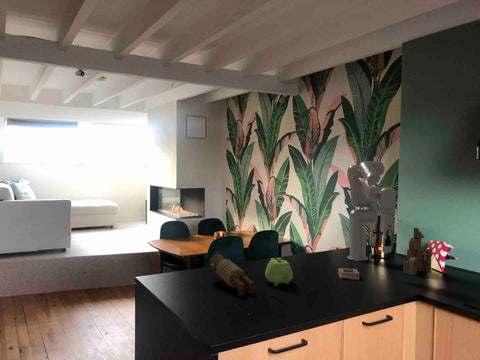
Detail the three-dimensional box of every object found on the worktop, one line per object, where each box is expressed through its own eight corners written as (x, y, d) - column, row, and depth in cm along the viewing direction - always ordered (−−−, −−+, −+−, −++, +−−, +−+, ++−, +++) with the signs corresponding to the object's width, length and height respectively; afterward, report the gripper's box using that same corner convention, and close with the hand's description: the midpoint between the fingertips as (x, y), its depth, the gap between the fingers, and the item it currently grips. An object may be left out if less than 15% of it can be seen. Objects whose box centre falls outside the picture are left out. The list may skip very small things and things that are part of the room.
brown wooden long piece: (254, 300, 185) (223, 273, 210) (257, 276, 183) (225, 251, 208) (236, 304, 180) (206, 275, 205) (239, 279, 178) (208, 253, 202)
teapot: (300, 287, 194) (300, 261, 193) (275, 290, 189) (275, 264, 189) (282, 276, 213) (282, 253, 212) (259, 278, 208) (259, 254, 208)
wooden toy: (413, 275, 216) (414, 230, 215) (403, 272, 222) (404, 228, 221) (432, 272, 223) (433, 228, 222) (422, 269, 229) (423, 226, 228)
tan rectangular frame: (338, 273, 219) (338, 268, 219) (356, 274, 218) (356, 268, 218) (340, 278, 209) (340, 272, 209) (359, 279, 208) (359, 273, 208)
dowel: (381, 250, 215) (382, 229, 215) (389, 251, 215) (389, 229, 214) (383, 252, 212) (384, 230, 211) (391, 253, 211) (391, 230, 210)
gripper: (376, 209, 221) (375, 241, 222) (384, 213, 204) (383, 248, 205) (390, 209, 220) (389, 242, 221) (399, 213, 203) (398, 249, 204)
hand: (386, 244), depth 213 cm, fingers closed on dowel, 4 cm apart
